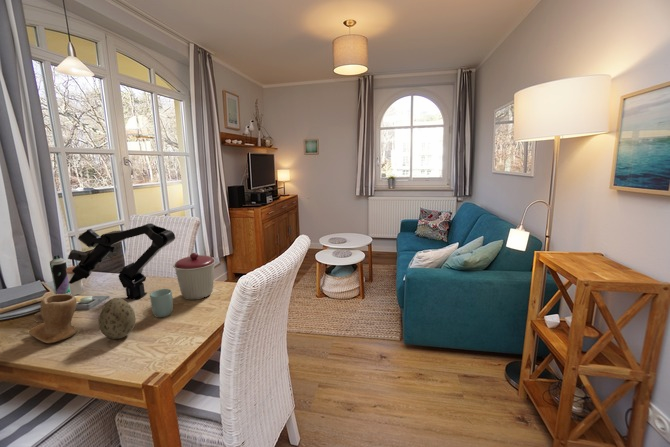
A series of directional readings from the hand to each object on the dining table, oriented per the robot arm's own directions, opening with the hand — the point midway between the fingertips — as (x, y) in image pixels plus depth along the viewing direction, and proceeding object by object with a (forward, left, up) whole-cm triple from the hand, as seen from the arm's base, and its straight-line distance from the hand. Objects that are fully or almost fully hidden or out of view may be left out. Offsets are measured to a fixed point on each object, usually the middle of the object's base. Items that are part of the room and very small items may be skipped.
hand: (71, 281), depth 136 cm
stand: (-2, +14, -10) cm, 17 cm away
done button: (-9, +4, -8) cm, 12 cm away
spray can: (+10, -6, -10) cm, 15 cm away
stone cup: (-16, +26, -10) cm, 32 cm away
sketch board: (-4, +1, -10) cm, 11 cm away
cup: (-46, +11, -10) cm, 49 cm away
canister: (-52, -8, -10) cm, 54 cm away
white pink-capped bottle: (-1, -1, -6) cm, 6 cm away
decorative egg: (-39, +27, -10) cm, 49 cm away
